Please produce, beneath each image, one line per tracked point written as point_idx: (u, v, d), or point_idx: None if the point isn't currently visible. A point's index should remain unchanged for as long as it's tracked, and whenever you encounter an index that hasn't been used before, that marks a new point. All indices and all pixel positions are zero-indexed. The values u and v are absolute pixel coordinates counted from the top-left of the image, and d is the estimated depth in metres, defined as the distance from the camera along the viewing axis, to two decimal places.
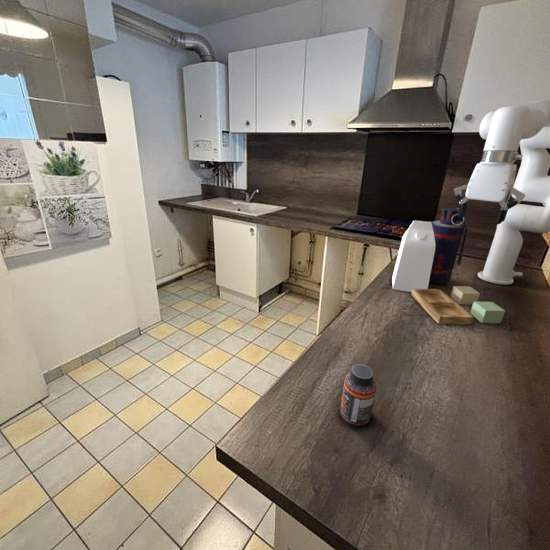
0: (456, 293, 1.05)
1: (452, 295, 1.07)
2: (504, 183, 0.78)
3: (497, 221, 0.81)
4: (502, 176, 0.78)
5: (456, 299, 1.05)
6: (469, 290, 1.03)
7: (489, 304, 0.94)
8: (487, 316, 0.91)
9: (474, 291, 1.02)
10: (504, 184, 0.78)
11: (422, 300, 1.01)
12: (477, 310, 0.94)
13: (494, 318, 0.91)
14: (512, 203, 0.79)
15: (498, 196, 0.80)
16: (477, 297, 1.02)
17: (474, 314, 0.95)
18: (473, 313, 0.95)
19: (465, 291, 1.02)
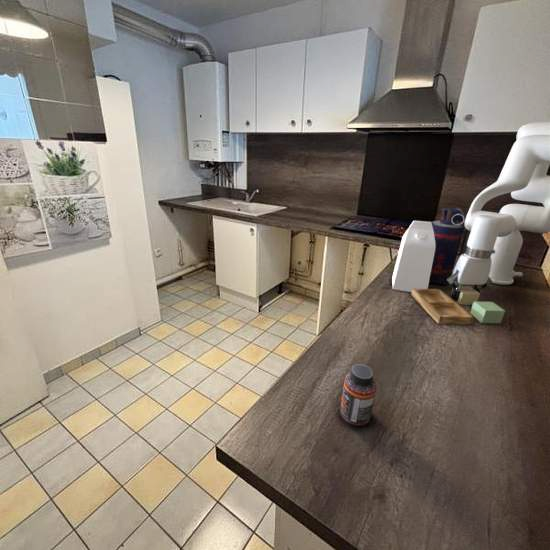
0: None
1: None
2: (487, 272, 0.99)
3: None
4: (487, 267, 0.98)
5: None
6: (469, 290, 1.03)
7: (489, 304, 0.94)
8: (487, 316, 0.91)
9: (474, 291, 1.02)
10: (487, 272, 0.99)
11: (422, 300, 1.01)
12: (477, 310, 0.94)
13: (494, 318, 0.91)
14: (484, 286, 1.02)
15: (483, 281, 1.00)
16: (477, 297, 1.02)
17: (474, 314, 0.95)
18: (473, 313, 0.95)
19: (465, 291, 1.02)
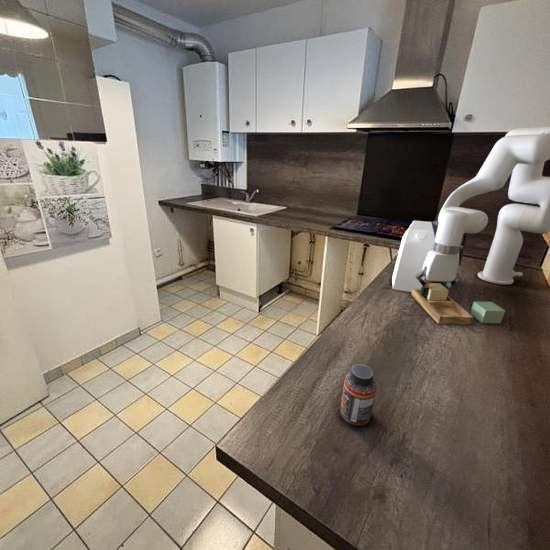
0: None
1: None
2: (455, 268, 0.97)
3: None
4: (454, 263, 0.96)
5: None
6: (438, 287, 1.02)
7: (489, 304, 0.94)
8: (487, 316, 0.91)
9: (443, 288, 1.01)
10: (455, 269, 0.97)
11: (422, 300, 1.01)
12: (477, 310, 0.94)
13: (494, 318, 0.91)
14: (453, 282, 1.00)
15: (451, 277, 0.98)
16: (446, 294, 1.00)
17: (474, 314, 0.95)
18: (473, 313, 0.95)
19: (433, 288, 1.00)
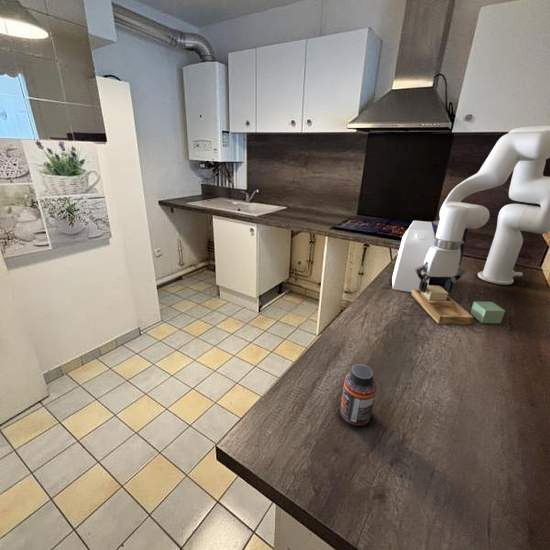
0: (425, 293, 1.03)
1: (422, 294, 1.06)
2: (457, 263, 0.96)
3: (449, 291, 1.01)
4: (456, 259, 0.96)
5: (425, 298, 1.03)
6: (437, 289, 1.02)
7: (489, 304, 0.94)
8: (487, 316, 0.91)
9: (443, 290, 1.01)
10: (457, 264, 0.96)
11: (422, 300, 1.01)
12: (477, 310, 0.94)
13: (494, 318, 0.91)
14: (457, 277, 1.00)
15: (453, 273, 0.98)
16: (445, 296, 1.00)
17: (474, 314, 0.95)
18: (473, 313, 0.95)
19: (433, 291, 1.01)
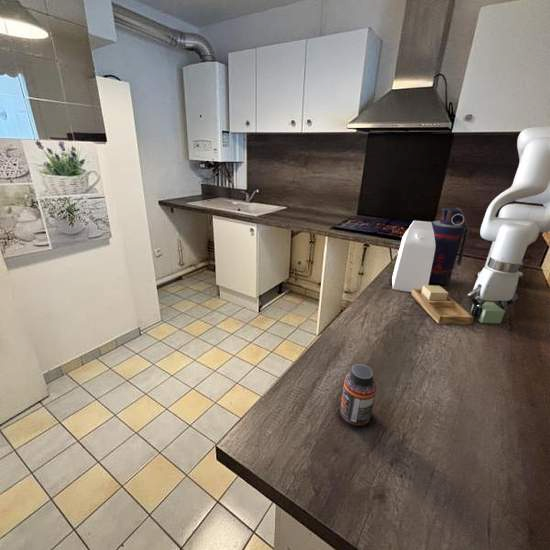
0: (425, 293, 1.03)
1: (422, 294, 1.06)
2: (514, 287, 0.88)
3: None
4: (513, 282, 0.87)
5: (425, 298, 1.03)
6: (437, 289, 1.02)
7: (489, 304, 0.94)
8: (487, 316, 0.91)
9: (443, 290, 1.01)
10: (514, 287, 0.88)
11: (422, 300, 1.01)
12: None
13: (494, 318, 0.91)
14: (509, 302, 0.91)
15: (509, 297, 0.89)
16: (445, 296, 1.00)
17: None
18: None
19: (433, 291, 1.01)
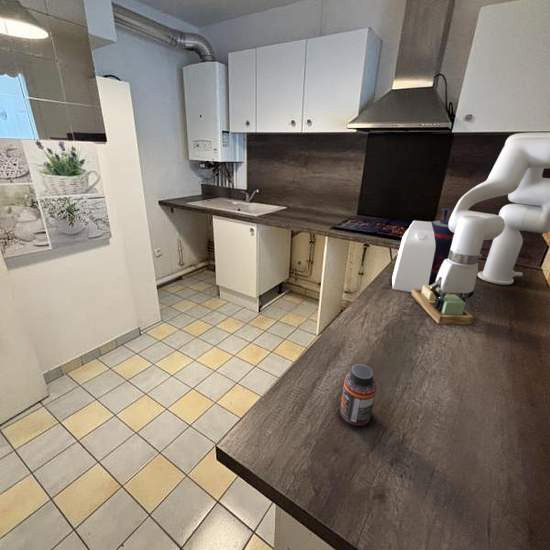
0: (425, 293, 1.03)
1: (422, 294, 1.06)
2: (474, 279, 0.88)
3: None
4: (472, 274, 0.87)
5: (425, 298, 1.03)
6: (437, 289, 1.02)
7: (452, 296, 0.94)
8: (448, 308, 0.91)
9: None
10: (474, 280, 0.88)
11: (422, 300, 1.01)
12: None
13: (455, 311, 0.92)
14: (470, 294, 0.92)
15: (469, 289, 0.90)
16: None
17: None
18: None
19: None
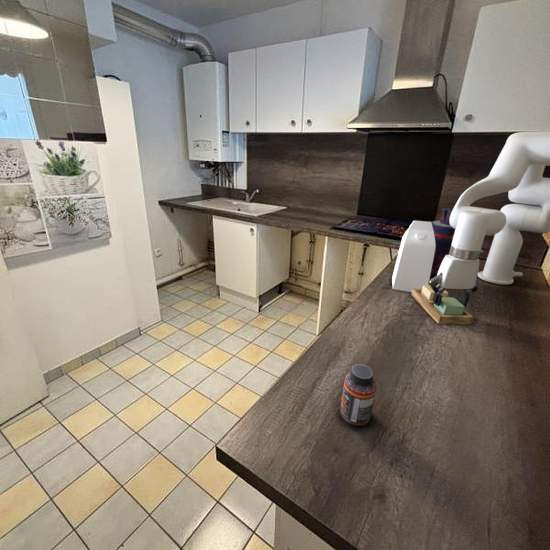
0: (425, 293, 1.03)
1: (422, 294, 1.06)
2: (475, 275, 0.88)
3: (465, 305, 0.92)
4: (474, 269, 0.87)
5: (425, 298, 1.03)
6: None
7: (451, 299, 0.95)
8: (447, 311, 0.92)
9: None
10: (475, 275, 0.88)
11: (422, 300, 1.01)
12: (438, 306, 0.95)
13: (454, 314, 0.92)
14: (474, 289, 0.91)
15: (470, 285, 0.89)
16: (445, 296, 1.00)
17: None
18: None
19: (433, 291, 1.01)
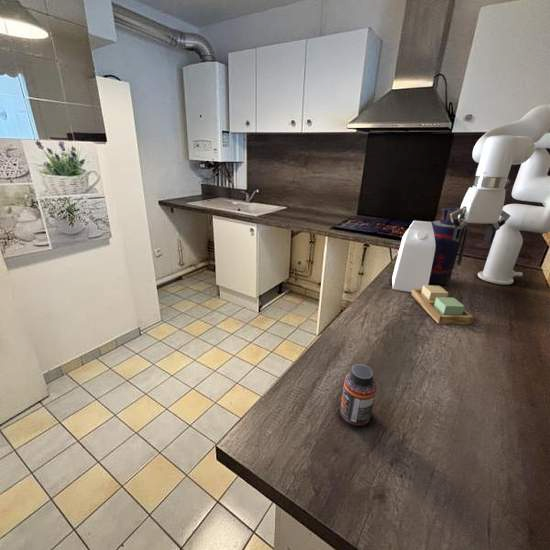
0: (425, 293, 1.03)
1: (422, 294, 1.06)
2: (500, 206, 0.83)
3: (491, 240, 0.88)
4: (500, 200, 0.82)
5: (425, 298, 1.03)
6: (437, 289, 1.02)
7: (451, 299, 0.95)
8: (447, 311, 0.92)
9: (443, 290, 1.01)
10: (500, 207, 0.83)
11: (422, 300, 1.01)
12: (438, 306, 0.95)
13: (454, 314, 0.92)
14: (501, 223, 0.86)
15: (495, 218, 0.85)
16: (445, 296, 1.00)
17: None
18: None
19: (433, 291, 1.01)
